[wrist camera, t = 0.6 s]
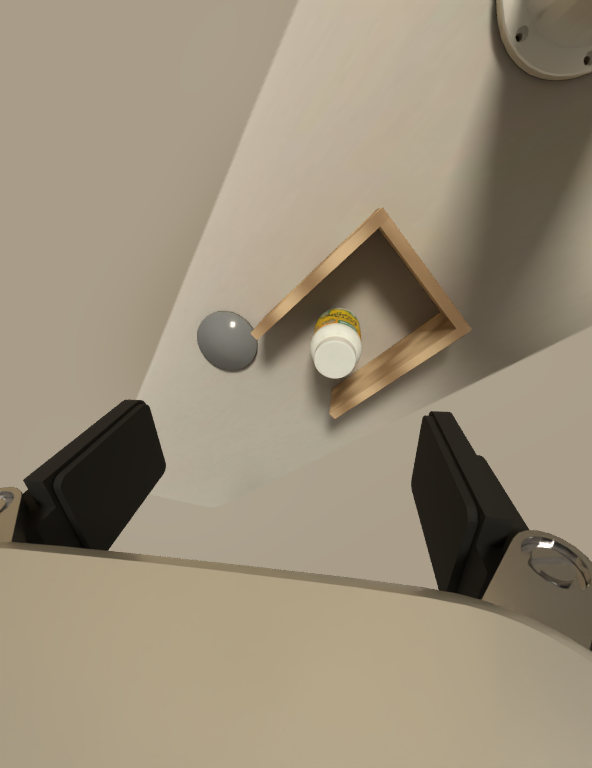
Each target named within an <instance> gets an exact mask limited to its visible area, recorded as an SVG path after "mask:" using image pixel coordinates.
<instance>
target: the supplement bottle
mask: <svg viewBox="0 0 592 768" xmlns="http://www.w3.org/2000/svg"><path fill="white" fill-rule="evenodd" d="M361 352H362V342H361V332H360V325H359V322H358V319H357V318H356V316H355V315H354V314H353V313H352V312H351V311H349V310H347V309H344V308H332V309H329V310H328V311H326V312H324V313H323V314H322V315H321V316H320V317H319V318H318V320H317V322H316V325H315V329H314V332H313V336H312V339H311V343H310V354H311V357H312V359H313V361H314V364H315V366H316V368H317V370H318V371H319V372H320V373H321V374H322V375H324V376H326V377H328V378H333V379H337V378H342V377H345V376H346V375H348V374H349V373H350V372H351V371H352V370H353V368H354V366H355V364H356V363H357V362H358V360H359V358H360V356H361Z"/></svg>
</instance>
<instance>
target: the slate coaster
mask: <svg viewBox="0 0 592 768" xmlns="http://www.w3.org/2000/svg"><path fill="white" fill-rule="evenodd" d="M253 330H254V329H253V328H252V326H251V325H250V324H249V323H248V322H247V321H246V320H245V319H244V318H243V317H241V316H240V315H238V314H235V313H233V312H229V311H218V312H215V313H212V314H210V315H209V316H207V317H206V318H205V319H204V320H203V321H202V322H201V324H200V326H199V328H198V332H197V341H198V345H199V348H200V350H201V352H202V354H203V355H204V356H205V358H206V359H207V360H208V361H209V362H210V363H212V364H213V365H215V366H217V367H219V368H221V369H225V370H239V369H242V368H244V367H246V366H247V365H248V364H249V363H250V362H251V361H252V360H253V358H254V357H255V355H256V352H257V347H258V343H257V340H256V339H255V338H254V337H253V336H252V335H251V334H250V333H251V332H252V331H253Z"/></svg>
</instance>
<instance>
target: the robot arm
mask: <svg viewBox="0 0 592 768" xmlns="http://www.w3.org/2000/svg"><path fill="white" fill-rule="evenodd" d="M496 6H497V22H498V26H499V31H500V36H501V39H502V42H503V44H504V46H505V48H506V50H507V53H508V54H509V56H510V57H511V58H512V59H513V61H514V62H515V63H516V64H517V66H519V67H520V68H521V69H523V70H524V71H526V72H527V73H528V74H530V75H533V76H536V77H538V78H541V79H546V80H565V79H571V78H577V77H580V76H582V75H585V74H588V73H591V72H592V0H496ZM515 36H519V37H520V40H519V42H517V41H516V38H515ZM584 59H585V60H586V64H584ZM165 468H166V463H165V459H164V456H163V452H162V449H161V445H160V442H159V438H158V435H157V431H156V428H155V424H154V421H153V417H152V414H151V410H150V407H149V406H148V405H146V404H145V402H144V401H142V400H124V401H122V402H121V403H120V404H119V405H118V406H116V407H115V408H114V409H112V410H111V411H110V412H108V413H107V414H106V415H105V416H103V417H102V418H101V419H100V420H98V421H97V422H96V423H95V424H93V425H92V426H91V427H89V428H88V429H87V430H86V431H84V432H83V433H82V434H81V435H79V436H78V437H77V438H76V439H74V440H73V441H72V442H71V443H69V444H68V445H67V446H66V447H64V448H63V449H62V450H60V451H59V452H58V453H57V454H55V455H54V456H53V457H52V458H50V459H49V460H48V461H46V462H45V463H44V464H43V465H41V466H40V467H39V468H38V469H36V470H35V471H34V472H33V473H31V474H30V475H29V476H27V477H26V478H25V479H24V480H23V481H24V483H25V484H26V486H27V488H28V490H27V491H26V492H25V493H23V494H22V492H21V491H20V490H19V489H18V488H15V487H4V488H0V768H592V562H591V561H590V560H589V558H588V557H587V556H586V555H584V554H583V553H582V552H581V551H580V550H578V549H577V548H576V547H575V546H573V545H571V544H570V543H568V542H566V541H565V540H563V539H561V538H559V537H557V536H554V535H552V534H550V533H545V532H541V531H537V530H536V531H535V530H529V529H528V527H527V525H526V524H525V522H524V521H523V519H522V517H521V516H520V514H519V513H518V511H517V510H516V508H515V506H514V505H513V503H512V501H511V500H510V498H509V497H508V495H507V493H506V492H505V490H504V489H503V487H502V485H501V484H500V482H499V481H498V479H497V477H496V476H495V474H494V473H493V471H492V469H491V468H490V466H489V465H488V463H487V461H486V460H485V459H484V458H483V457H482V456H480V455H476V453H475V451H474V450H473V448H472V446H471V445H470V443H469V441H468V440H467V438H466V437H465V435H464V433H463V431H462V430H461V428H460V426H459V425H458V423H457V421H456V420H455V418H454V416H453V415H452V413H450V412H436V411H435V412H433V411H431V412H430V413H429V416H424V417H423V419H422V424H421V429H420V435H419V441H418V446H417V452H416V458H415V463H414V469H413V474H412V481H411V487H412V493H413V496H414V500H415V504H416V507H417V511H418V515H419V518H420V522H421V525H422V529H423V533H424V537H425V541H426V544H427V548H428V552H429V555H430V559H431V563H432V566H433V570H434V574H435V578H436V581H437V585H438V589H439V590H435V589H429V588H423V587H417V586H410V585H402V584H394V583H387V582H379V581H372V580H364V579H356V578H349V577H340V576H331V575H323V574H314V573H305V572H295V571H287V570H279V569H270V568H262V567H253V566H243V565H234V564H226V563H216V562H207V561H198V560H189V559H180V558H171V557H161V556H152V555H142V554H133V553H123V552H113V551H108V550H109V548H110V547H111V545H112V544H113V543H114V541H115V540H116V539H117V537H118V536H119V534H120V533H121V532H122V530H123V529H124V528H125V526H126V525H127V523H128V522H129V521H130V519H131V518H132V517H133V515H134V514H135V512H136V511H137V509H138V508H139V507H140V505H141V504H142V503H143V501H144V500H145V499H146V497H147V496H148V494H149V493H150V492H151V490H152V489H153V488H154V486H155V485H156V483H157V482H158V481H159V479H160V478H161V476H162V475H163V474H164V472H165Z"/></svg>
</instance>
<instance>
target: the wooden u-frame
mask: <svg viewBox="0 0 592 768" xmlns="http://www.w3.org/2000/svg"><path fill="white" fill-rule="evenodd" d="M377 229H379V230H380V232H381V233H382V234H383V236H384V237H385V238H386V240H387V241H388V242H389V244H390V245H391V246H392V248H393V249H394V250H395V252H396V253H397V254H398V256H399V257H400V258H401V260H402V261H403V262H404V264H405V265H406V266H407V268H408V269H409V270H410V272H411V273H412V274H413V276H414V277H415V278H416V280H417V281H418V282H419V284H420V285H421V286H422V288H423V289H424V290H425V292H426V293H427V294H428V296H429V297H430V298H431V300H432V301H433V302H434V304H435V305H436V306H437V308H438V309H439V310H440V313H438V314H437V315H436V316H434V317H433V318H431V319H430V320H429V321H427V322H426V323H424V324H423V325H422V326H420V327H419V328H417V329H416V330H414V331H413V332H412V333H410V334H409V335H407V336H406V337H405V338H403V339H402V340H400V341H399V342H398V343H396V344H395V345H393V346H392V347H390V348H389V349H388V350H386V351H385V352H383V353H382V354H381V355H379V356H378V357H376V358H375V359H374V360H372V361H371V362H369V363H368V364H366V365H365V366H364V367H362V368H361V369H359V370H358V371H357V372H355V373H354V374H352V375H351V376H350V377H348V378H347V379H345V380H344V381H342V382H341V383H340V384H338V385H337V386H335V387H334V388H333V389H332V394H331V403H330V412H329V414H330V415H331V416H332V417H333V418H334V419H336V418H337V417H339V416H341V415H342V414H344V413H345V412H347V411H348V410H350V409H351V408H353V407H354V406H356V405H357V404H359V403H361V402H362V401H364V400H365V399H367V398H368V397H370V396H371V395H373V394H374V393H376V392H377V391H379V390H381V389H382V388H384V387H385V386H387V385H388V384H390V383H391V382H393V381H394V380H396V379H397V378H399V377H401V376H402V375H404V374H405V373H407V372H408V371H410V370H411V369H413V368H414V367H416V366H417V365H419V364H421V363H422V362H424V361H425V360H427V359H428V358H430V357H431V356H433V355H434V354H436V353H437V352H439V351H441V350H442V349H444V348H445V347H447V346H448V345H450V344H451V343H453V342H454V341H456V340H457V339H459V338H461V337H462V336H464V335H465V334H467V333H468V332H470V331H471V330H472V329H471V328H470V326H469V325H468V324H467V322H466V321H465V319H464V318H463V317H462V315H461V314H460V313H459V311H458V310H457V308H456V307H455V306H454V304H453V303H452V302H451V300H450V299H449V297H448V296H447V295H446V293H445V292H444V291H443V289H442V288H441V287H440V285H439V284H438V282H437V281H436V280H435V278H434V277H433V276H432V274H431V273H430V271H429V270H428V269H427V267H426V266H425V265H424V263H423V262H422V260H421V259H420V258H419V256H418V255H417V254H416V252H415V251H414V250H413V248H412V247H411V245H410V244H409V243H408V241H407V240H406V239H405V237H404V236H403V234H402V233H401V232H400V230H399V229H398V228H397V226H396V225H395V223H394V222H393V221H392V219H391V218H390V217H389V215H388V214H387V213H386V211H385V210H384V208H379V209H377V210H376V211H375V212H374V213H373V214H372V215H371V216H370V217H369V218H368V219H366V220H365V221H364V222H363V223H362V224H361V225H360V226H359V227H358V228H357V229H356V230H355V231H354V232H353V233H352V234H351V235H350V236H349V237H348V238H347V239H346V240H345V241H343V242H342V243H341V244H340V245H339V246H338V247H337V248H336V249H335V250H334V251H333V252H332V253H331V254H330V255H329V256H328V257H327V258H326V259H325V260H324V261H323V262H322V263H320V264H319V265H318V266H317V267H316V268H315V269H314V270H313V271H312V272H311V273H310V274H309V275H308V276H307V277H306V278H305V279H304V280H303V281H302V282H301V283H300V284H299V285H297V286H296V287H295V288H294V289H293V290H292V291H291V292H290V293H289V294H288V295H287V296H286V297H285V298H284V299H283V300H282V301H281V302H280V303H279V304H278V305H277V306H276V307H274V308H273V309H272V310H271V311H270V312H269V313H268V314H267V315H266V316H265V317H264V318H263V319H262V320H261V322H260V323H259V324H258V325H257V326H256V327H255V329H254V330H253V331H252V332H251V333H250V334H251V335H252V336H253V337H254V338H255V339H256V340H258V339H259V338H260V337H261V336H262V335H263V334H264V333H265V332H266V331H268V330H269V329H270V328H271V327H272V326H273V325H274V324H275V323H276V322H277V321H278V320H279V319H281V318H282V317H283V316H284V315H285V314H286V313H287V312H288V311H289V310H290V309H291V308H292V307H294V306H295V305H296V304H297V303H298V302H299V301H300V300H301V299H302V298H303V297H304V296H305V295H307V294H308V293H309V292H310V291H311V290H312V289H313V288H314V287H315V286H316V285H317V284H318V283H320V282H321V281H322V280H323V279H324V278H325V277H326V276H327V275H328V274H329V273H330V272H331V271H333V270H334V269H335V268H336V267H337V266H338V265H339V264H340V263H341V262H342V261H343V260H344V259H346V258H347V257H348V256H349V255H350V254H351V253H352V252H353V251H354V250H355V249H356V248H357V247H359V246H360V245H361V244H362V243H363V242H364V241H365V240H366V239H367V238H368V237H369V236H371V235H372V234H373V233H374V232H375V231H376V230H377Z"/></svg>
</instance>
